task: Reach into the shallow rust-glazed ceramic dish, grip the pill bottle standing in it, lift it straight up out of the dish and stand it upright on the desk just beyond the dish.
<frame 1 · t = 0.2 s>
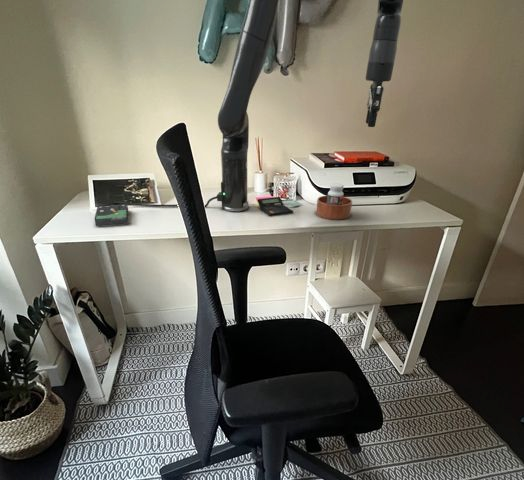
hand: (370, 125, 117), 29 cm above the table, tool pointing down, fingers open, 8 cm apart
calculator: (274, 210, 139), on the table
pill bottle: (332, 213, 137), resting on dish
disk drive: (113, 219, 127), on the table
dish: (332, 214, 137), on the table
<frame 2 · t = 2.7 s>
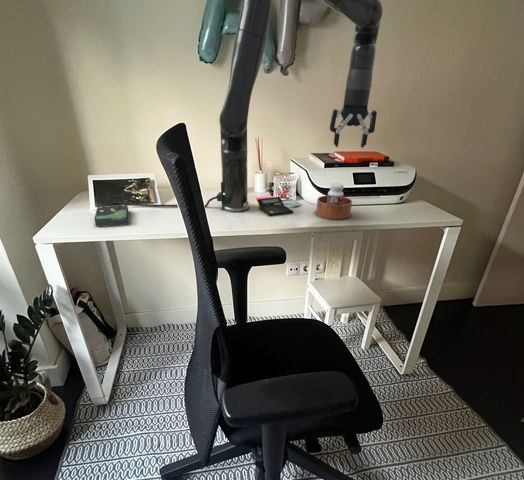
hand: (349, 146, 122), 22 cm above the table, tool pointing down, fingers open, 8 cm apart
nothing on the table moved.
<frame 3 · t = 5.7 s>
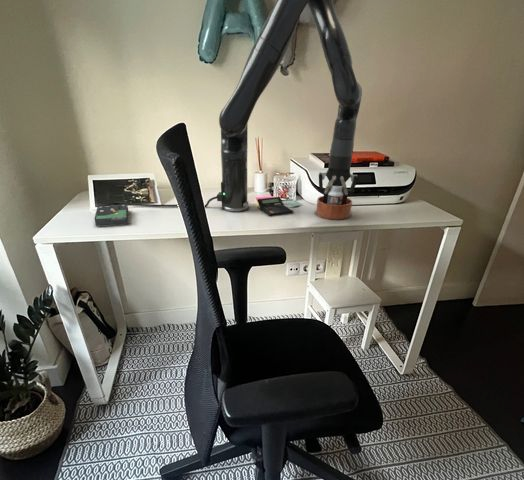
hand: (334, 204, 135), 4 cm above the table, tool pointing down, fingers closed on pill bottle, 5 cm apart
pill bottle: (332, 213, 137), resting on dish, touching gripper
everything else where it was.
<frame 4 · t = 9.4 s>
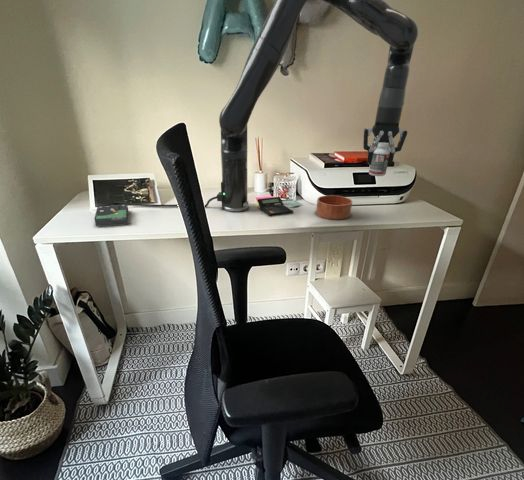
hand: (378, 164, 125), 18 cm above the table, tool pointing down, fingers closed on pill bottle, 5 cm apart
pill bottle: (376, 175, 127), point 14 cm above the table, touching gripper
everything else where it was.
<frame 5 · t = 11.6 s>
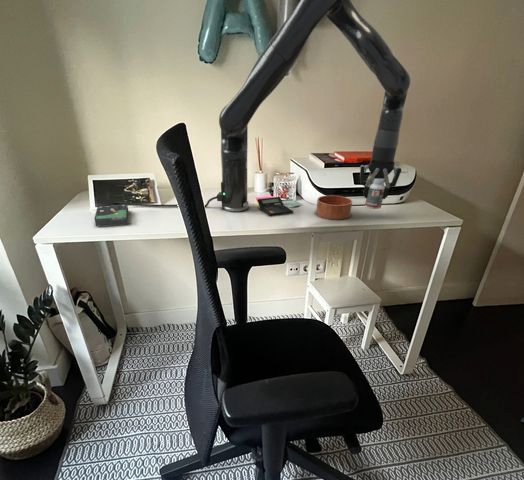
hand: (374, 197, 131), 7 cm above the table, tool pointing down, fingers closed on pill bottle, 5 cm apart
pill bottle: (372, 207, 133), point 3 cm above the table, touching gripper
everything else where it was.
when the fingers open (3 cm above the table, at t = 13.1 s): pill bottle stays where it is, on the table.
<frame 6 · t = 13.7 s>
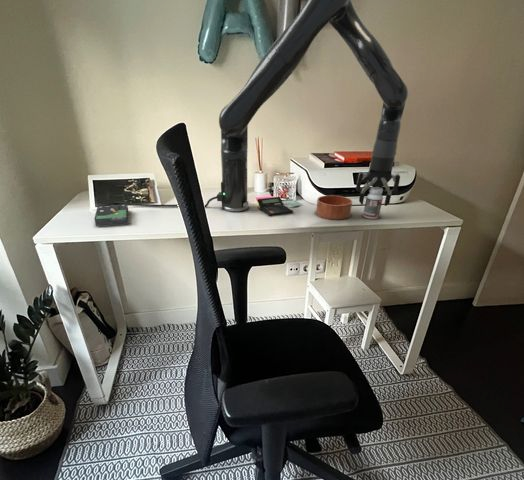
hand: (373, 204, 133), 4 cm above the table, tool pointing down, fingers open, 8 cm apart
pill bottle: (370, 217, 135), on the table
everything else where it was.
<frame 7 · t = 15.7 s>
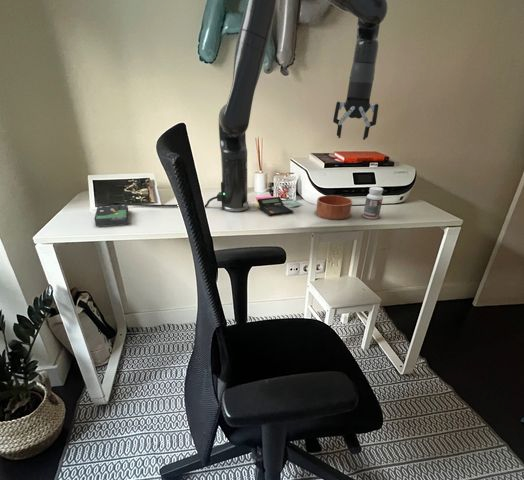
hand: (351, 138, 127), 24 cm above the table, tool pointing down, fingers open, 8 cm apart
nothing on the table moved.
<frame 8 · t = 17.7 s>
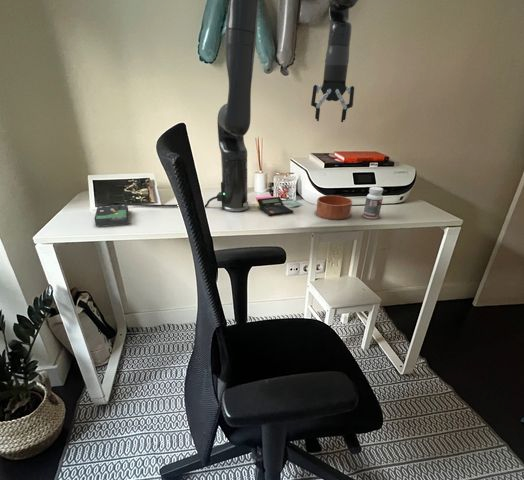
hand: (329, 121, 130), 28 cm above the table, tool pointing down, fingers open, 8 cm apart
nothing on the table moved.
at the end: pill bottle inside the target area (0.1 cm from its centre), on the table; pill bottle tilted 0°; the gripper is holding nothing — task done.
